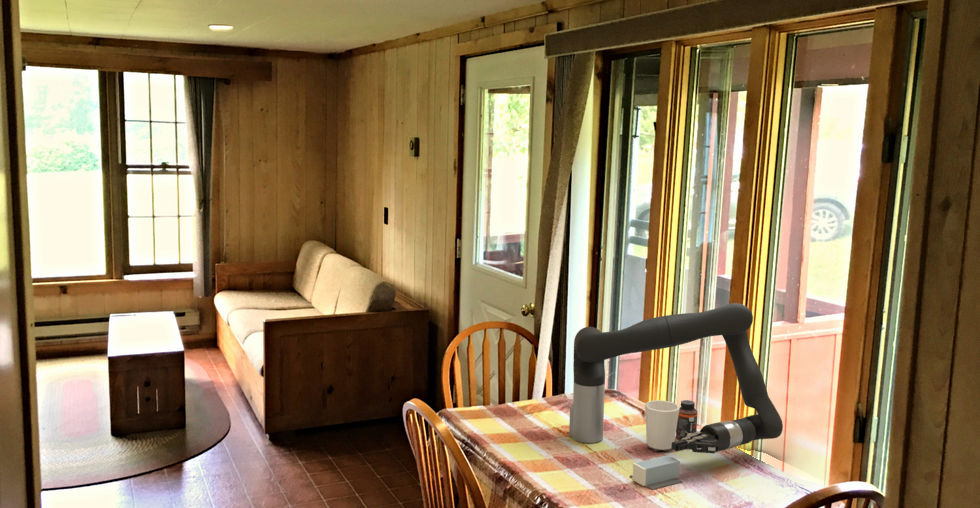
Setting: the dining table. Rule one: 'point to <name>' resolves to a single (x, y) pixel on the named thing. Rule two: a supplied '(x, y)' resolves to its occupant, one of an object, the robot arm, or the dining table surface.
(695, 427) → the supplement bottle
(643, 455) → the dining table surface
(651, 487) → the mat
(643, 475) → the block
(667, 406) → the cup
